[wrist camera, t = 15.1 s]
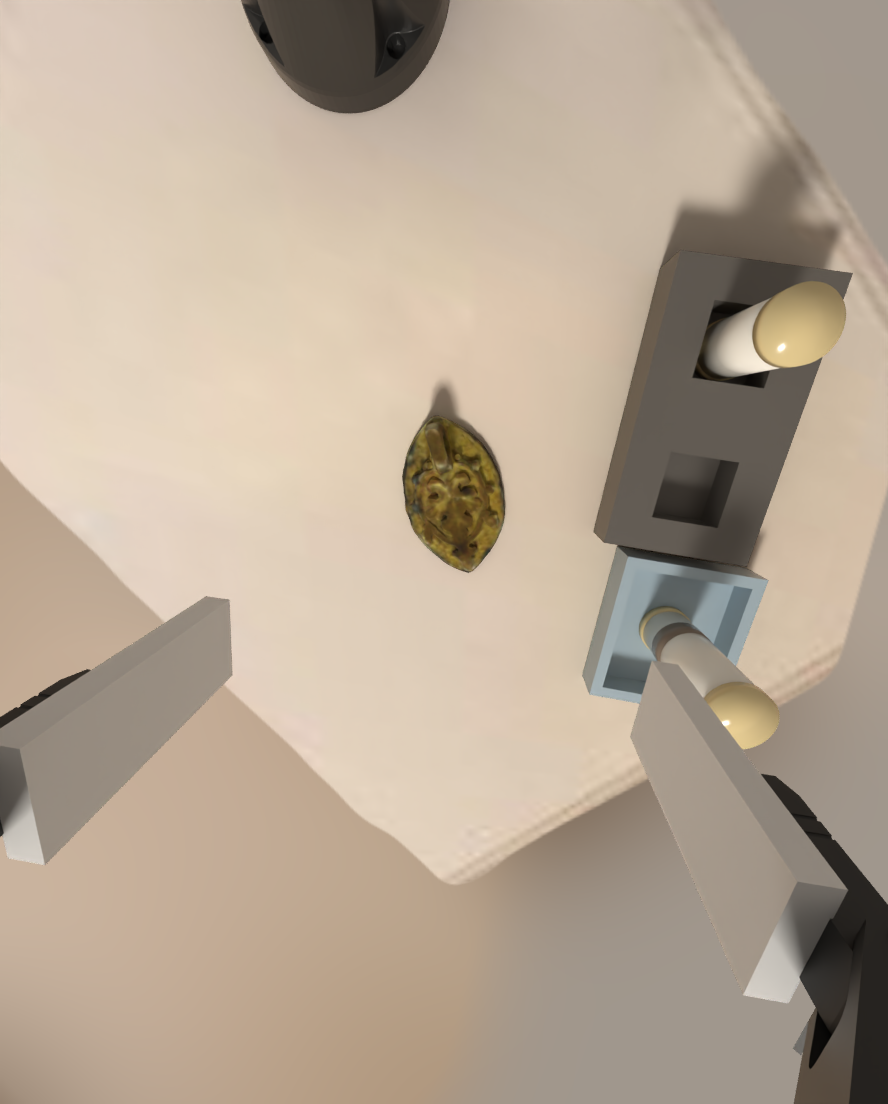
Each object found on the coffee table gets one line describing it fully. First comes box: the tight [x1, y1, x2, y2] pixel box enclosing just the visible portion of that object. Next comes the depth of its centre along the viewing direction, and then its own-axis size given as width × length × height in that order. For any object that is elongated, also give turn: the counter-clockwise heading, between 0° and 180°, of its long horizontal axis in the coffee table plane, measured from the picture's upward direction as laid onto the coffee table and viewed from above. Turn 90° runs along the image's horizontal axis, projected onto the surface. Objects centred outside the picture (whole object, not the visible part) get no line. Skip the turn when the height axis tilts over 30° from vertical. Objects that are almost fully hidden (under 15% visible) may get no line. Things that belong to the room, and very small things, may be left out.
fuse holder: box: [594, 250, 853, 567], centre depth 37 cm, size 22×12×4 cm, turn 171°
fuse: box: [694, 281, 846, 381], centre depth 31 cm, size 5×5×10 cm
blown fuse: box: [639, 606, 779, 749], centre depth 36 cm, size 5×5×14 cm
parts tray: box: [582, 547, 768, 704], centre depth 42 cm, size 14×12×3 cm
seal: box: [402, 416, 505, 573], centre depth 41 cm, size 9×5×15 cm
